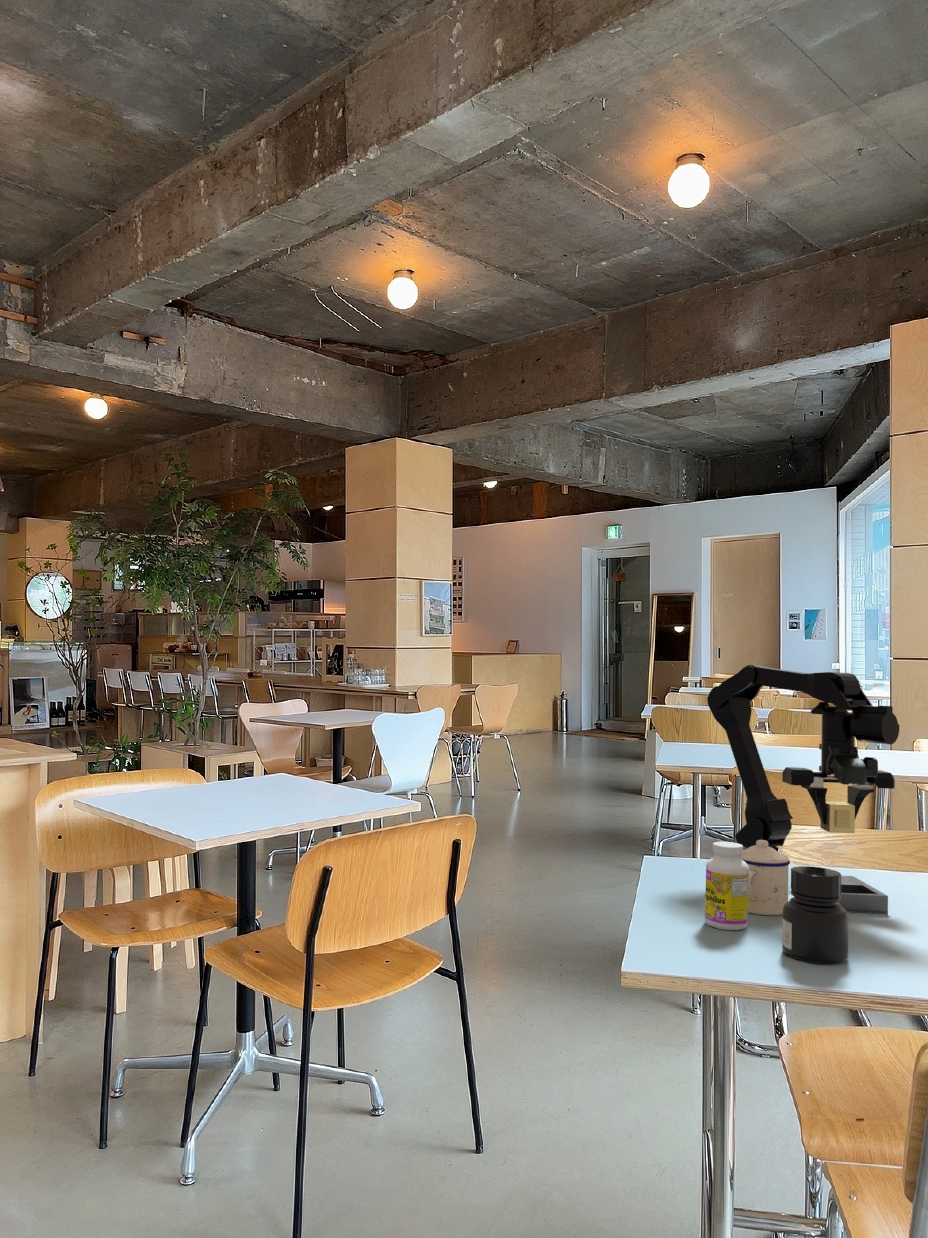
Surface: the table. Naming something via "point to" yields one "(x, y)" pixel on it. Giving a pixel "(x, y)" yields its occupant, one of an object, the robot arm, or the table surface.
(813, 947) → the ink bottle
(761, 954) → the table surface
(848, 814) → the pale yellow block
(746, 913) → the supplement bottle
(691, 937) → the table surface
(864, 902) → the dark grey tray
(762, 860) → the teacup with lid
